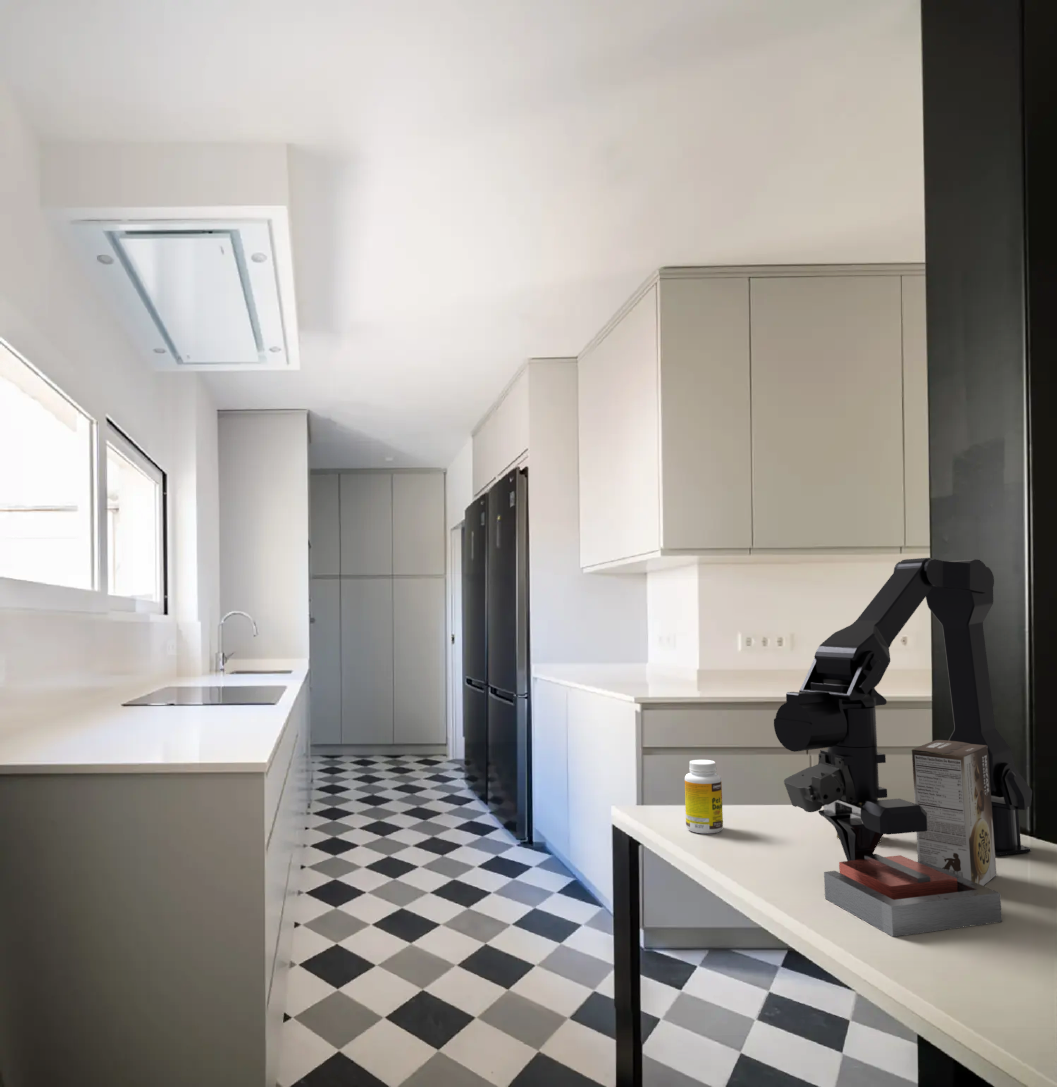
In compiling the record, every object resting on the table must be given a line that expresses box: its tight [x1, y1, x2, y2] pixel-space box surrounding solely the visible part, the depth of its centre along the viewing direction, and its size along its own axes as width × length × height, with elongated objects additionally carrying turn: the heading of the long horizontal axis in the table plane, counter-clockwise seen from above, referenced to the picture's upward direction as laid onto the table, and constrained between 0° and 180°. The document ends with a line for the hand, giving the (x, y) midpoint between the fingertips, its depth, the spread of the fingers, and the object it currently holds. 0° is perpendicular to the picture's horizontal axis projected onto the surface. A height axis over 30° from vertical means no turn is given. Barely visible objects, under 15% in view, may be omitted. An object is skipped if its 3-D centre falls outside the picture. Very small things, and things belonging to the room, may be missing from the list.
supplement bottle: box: [684, 759, 724, 835], centre depth 124 cm, size 6×6×10 cm
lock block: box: [838, 853, 958, 900], centre depth 93 cm, size 8×9×4 cm
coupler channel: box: [823, 860, 1003, 938], centre depth 90 cm, size 14×12×3 cm
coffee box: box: [911, 739, 997, 886], centre depth 100 cm, size 9×6×16 cm
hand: (857, 874), depth 98 cm, fingers closed
